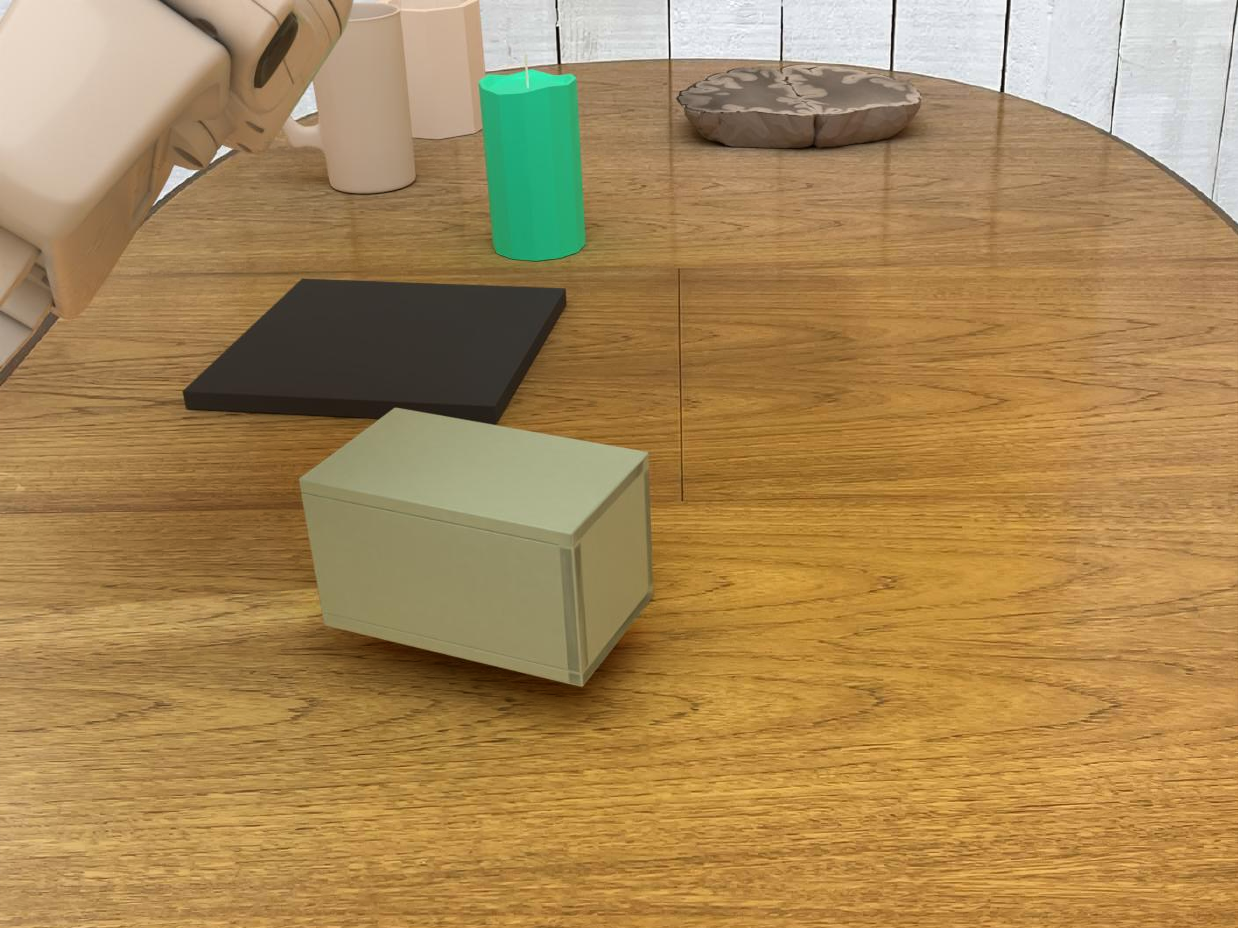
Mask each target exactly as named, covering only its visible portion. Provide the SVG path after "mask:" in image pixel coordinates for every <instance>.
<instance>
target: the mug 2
mask: <svg viewBox="0 0 1238 928" xmlns="http://www.w3.org/2000/svg"><path fill="white" fill-rule="evenodd" d="M375 2H376V3H387V4H392V5H396V6H398V7H400V8H401V11H400V17H401V25H402V33H403V44H404V54H405V65H406V76H407V87H408V98H409V108H410V119H411V129H412V139H426V140H443V139H450V138H454V137H455V138H456V137H461V136H468V135H474V134H476V133H478V132H479V131H481V130H483V129H482V117H481V106H480V95H479V84H478V82H479V81H480V80H481V79H483V78H484V77H485V76H486V75H487V74H486V63H485V53H484V42H483V41H484V40H483V32H482V31H483V29H482V19H481V18H482V17H481V7H480V0H377V1H375Z"/></svg>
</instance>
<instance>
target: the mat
mask: <svg viewBox="0 0 1238 928" xmlns="http://www.w3.org/2000/svg"><path fill="white" fill-rule="evenodd" d="M566 306H567V291H566V288H564V287H544V286H543V287H542V286H541V287H540V286H519V285H518V286H516V285H515V286H513V285H487V284H459V283H433V282H411V281H410V282H409V281H408V282H405V281H382V280H381V281H379V280H378V281H377V280H357V279H355V280H354V279H351V280H350V279H327V278H325V279H324V278H301V279H300V280H299V281H297V283H295V284H294V285H293V287H291V288H290V289H289V290H288V291H287V292H286V293H285V294H284V295H283V296H281V298H280V299H279V300H278V301H277V302H276V303H275V304H273V305H272V306H271V307H270V308H269V309H268V310H267V311H266V312H265V313H264V314H262V315H261V316H260V318H258V319H257V320H256V321H255V322H254V323H253V324H252V325H251V326H250V327H249V328H248V329H246V331H244V332H243V334H242V335H240V336H239V337H238V338H237V339H236V340H235V341H234V342H233V343H232V344H231V345H230V346H229V347H228V348H227V349H226V350H224V351H223V352H222V353H221V354H220V355H219V356H217V358H216V359H215V360H214V361H212V363H211V364H210V365H208V367H206V368H205V369H204V370H203V371H202V372H201V373H200V374H199V375H198V376H197V377H196V378H195V379H194V380H193V381H191V383H189V385H187V386H186V387H185V388H184V389H183V390H182V396H183V401H184V405H185V409H186V410H199V411H221V412H240V413H241V412H243V413H261V414H280V415H281V414H282V415H302V416H322V417H341V418H342V417H346V418H362V419H363V418H364V419H380V418H382V417H383V416H384V415H386V414H387V413H388V412H390V411H391V410H392V409H394V408H401V409H407V410H412V411H418V412H424V413H429V414H435V415H441V416H446V417H452V418H458V419H463V420H469V421H475V422H480V423H486V424H492V425H497V424H498V423H499V420H500V419H501V417H502V415H503V414H504V412H505V410H506V409H507V407H508V405H509V403H510V402H511V400H512V398H513V397H514V395H515V393H516V392H517V389H518V388H519V386H520V384H521V383H522V381H523V380H524V377H525V376H526V374H527V373H528V371H529V369H530V368H531V366H532V364H533V363H534V360H535V359H536V357H537V356H538V354H539V352H540V350H541V349H542V347H543V346H544V343H545V342H546V340H547V338H548V336H549V335H550V333H551V331H552V330H553V328H554V327H555V325H556V323H557V321H558V320H559V317H560V316H561V315H562V313H563V311H564V309H565V307H566Z"/></svg>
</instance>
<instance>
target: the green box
mask: <svg viewBox="0 0 1238 928" xmlns="http://www.w3.org/2000/svg"><path fill="white" fill-rule="evenodd" d="M649 455H650V454H649V451H644V450H639V449H633V448H627V447H622V446H616V445H611V444H605V443H601V442H599V443H598V442H594V441H588V440H583V439H577V438H572V437H571V438H570V437H566V436H560V435H554V434H548V433H542V432H538V431H530V430H525V429H519V428H514V427H510V426H509V427H508V426H503V425H497V424H486V423H480V422H475V421H469V420H463V419H458V418H452V417H446V416H441V415H435V414H429V413H424V412H418V411H412V410H407V409H401V408H394V409H392V410H391V411H390V412H388V413H387V414H386V415H384V416H383V417H382V418H378V419H377V420H376V421H375V422H373V423H372V424H371V425H369V426H368V427H366V428H365V429H364V430H363V431H361V432H359V434H357V435H356V436H354V437H353V438H352V439H351V440H349V441H348V442H346V443H345V444H344V445H342V446H341V447H339V448H338V449H337V450H336V451H334V452H333V453H331V454H330V455H329V456H327V457H326V458H325V459H323V460H322V461H321V462H319V463H318V464H317V465H315V466H314V467H312V468H311V469H310V470H309V471H307V472H306V473H305V474H303V475H302V476H300V477H299V479H298V483H299V489H300V492H301V493H300V495H301V501H302V507H303V513H304V518H305V525H306V530H307V536H308V542H309V546H310V552H311V553H310V554H311V557H312V564H313V570H314V575H315V581H316V587H317V591H318V599H319V603H320V610H321V612H322V613H321V614H322V615H321V616H322V621H323V626H325V627H328V628H329V627H330V628H333V629H338V630H342V631H346V632H351V633H355V634H359V635H364V636H367V637H371V638H374V639H375V638H376V639H379V640H384V641H388V642H392V643H396V644H399V645H400V644H401V645H405V646H408V647H413V648H418V649H421V650H425V651H430V652H434V653H439V654H443V655H446V656H451V657H454V658H459V659H462V660H463V659H464V660H467V661H471V662H476V663H480V664H485V665H488V666H491V667H497V668H501V669H505V670H508V671H513V672H517V673H521V674H526V675H529V676H533V677H539V678H542V679H547V680H550V681H554V682H559V683H564V684H568V685H572V686H576V687H580V688H583V687H584V686H585V684H586V683H587V682H588V681H589V679H590V678H591V677H592V675H593V674H594V673H595V671H596V670H597V669H598V668H599V667H600V665H601V664H602V663H603V661H605V659H606V658H607V656H608V655H609V654H610V653H611V651H612V650H613V649H614V648H615V646H616V645H617V644H618V642H619V641H620V640H621V638H622V637H623V636H624V635H625V633H626V632H627V631H628V630H629V629H630V627H631V626H632V624H633V623H634V622H635V620H637V618H638V617H639V616H640V614H642V612H643V610H644V609H645V608H646V607H647V605H649V603H650V601H651V600H652V599H653V598H654V596H655V594H654V568H653V541H652V516H651V515H652V512H651V486H650V482H651V481H650V460H649V459H650V458H649Z"/></svg>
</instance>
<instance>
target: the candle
mask: <svg viewBox="0 0 1238 928" xmlns="http://www.w3.org/2000/svg"><path fill="white" fill-rule="evenodd" d="M523 55H524V68H525V70H523V71H519V72H515V73H510V74H491V73H490V74H488V73H487V74H486V76H485V77H484V78H483V79H481V80H480V81H479V82H478V84H479V95H480V106H481V117H482V129H481V130H482V138H483V149H484V151H483V152H484V161H485V172H486V183H487V195H488V204H489V216H490V217H489V218H490V227H491V239H492V246H493V249H494V251H495V253H496V254H497V255H500V256H502V257H506V258H508V259H511V260H520V261H530V262H531V261H532V262H537V261H545V260H556V259H562V258H566V257H568V256H571V255H574V254H577V253H579V252H580V251H581V250H582V249H583V248H584V247H585V246H586V245H587V241H586V225H585V223H586V221H585V205H584V189H583V188H584V187H583V169H582V152H581V151H582V150H581V133H580V131H581V130H580V115H579V113H580V112H579V98H578V79H577V77H576V76H575V75H574V74H573V73H565V74H557V75H555V74H551V73H547V72H544V71H540V70H536V69H533V68H530V69H529V68H528V67H529V66H528V65H529V64H528V53H524V54H523Z"/></svg>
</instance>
